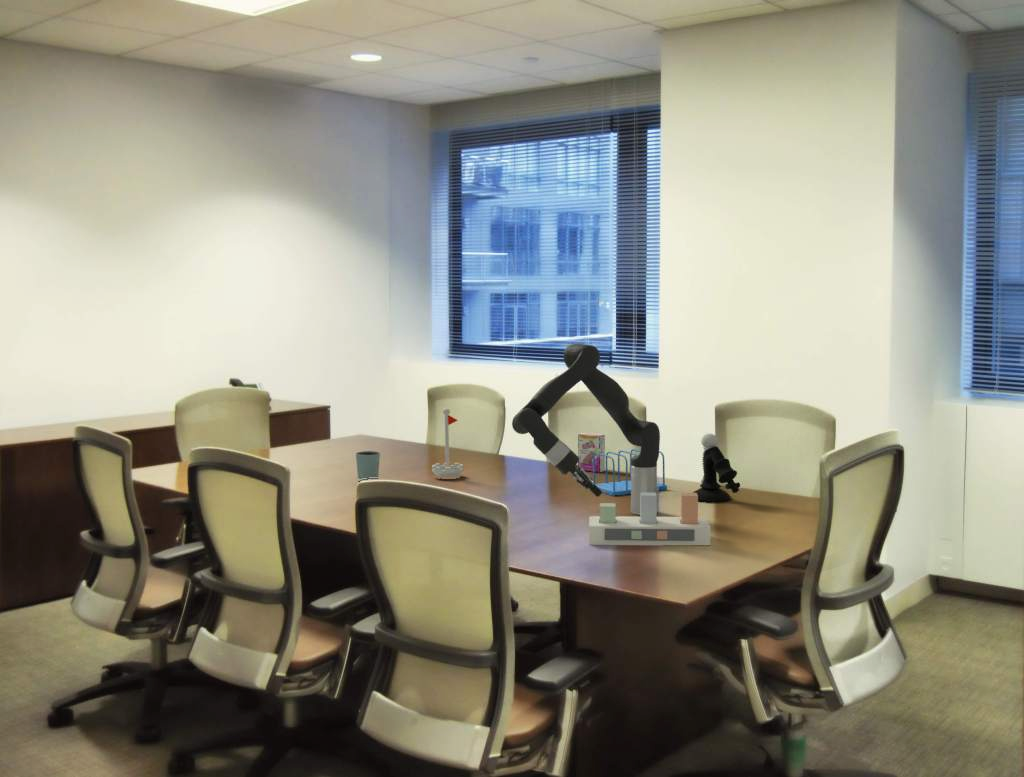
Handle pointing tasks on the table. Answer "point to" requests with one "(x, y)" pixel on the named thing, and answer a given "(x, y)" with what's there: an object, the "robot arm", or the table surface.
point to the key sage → (607, 512)
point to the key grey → (648, 508)
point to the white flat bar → (648, 532)
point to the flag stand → (447, 453)
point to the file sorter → (619, 486)
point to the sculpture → (711, 465)
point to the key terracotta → (689, 508)
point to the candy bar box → (591, 451)
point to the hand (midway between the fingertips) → (600, 494)
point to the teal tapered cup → (367, 464)
